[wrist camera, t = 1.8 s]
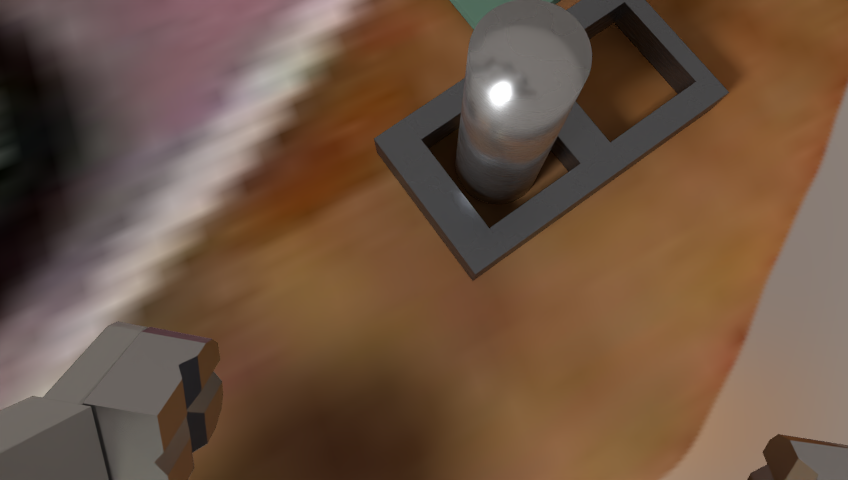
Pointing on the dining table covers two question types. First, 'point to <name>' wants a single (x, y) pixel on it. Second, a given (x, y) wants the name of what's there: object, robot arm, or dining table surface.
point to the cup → (517, 95)
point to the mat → (479, 8)
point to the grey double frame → (574, 145)
